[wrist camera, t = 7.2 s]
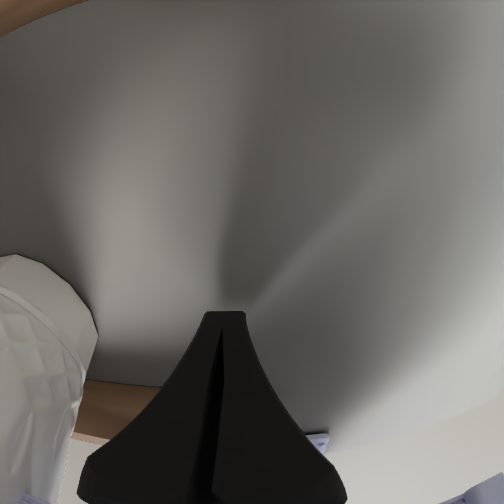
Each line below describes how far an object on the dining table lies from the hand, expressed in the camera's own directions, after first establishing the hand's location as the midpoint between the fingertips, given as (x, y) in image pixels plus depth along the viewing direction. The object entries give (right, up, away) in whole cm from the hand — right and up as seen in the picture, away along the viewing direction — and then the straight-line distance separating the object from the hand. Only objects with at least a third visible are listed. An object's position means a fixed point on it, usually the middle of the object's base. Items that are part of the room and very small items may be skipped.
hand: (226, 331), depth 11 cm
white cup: (-9, 0, +1) cm, 9 cm away
